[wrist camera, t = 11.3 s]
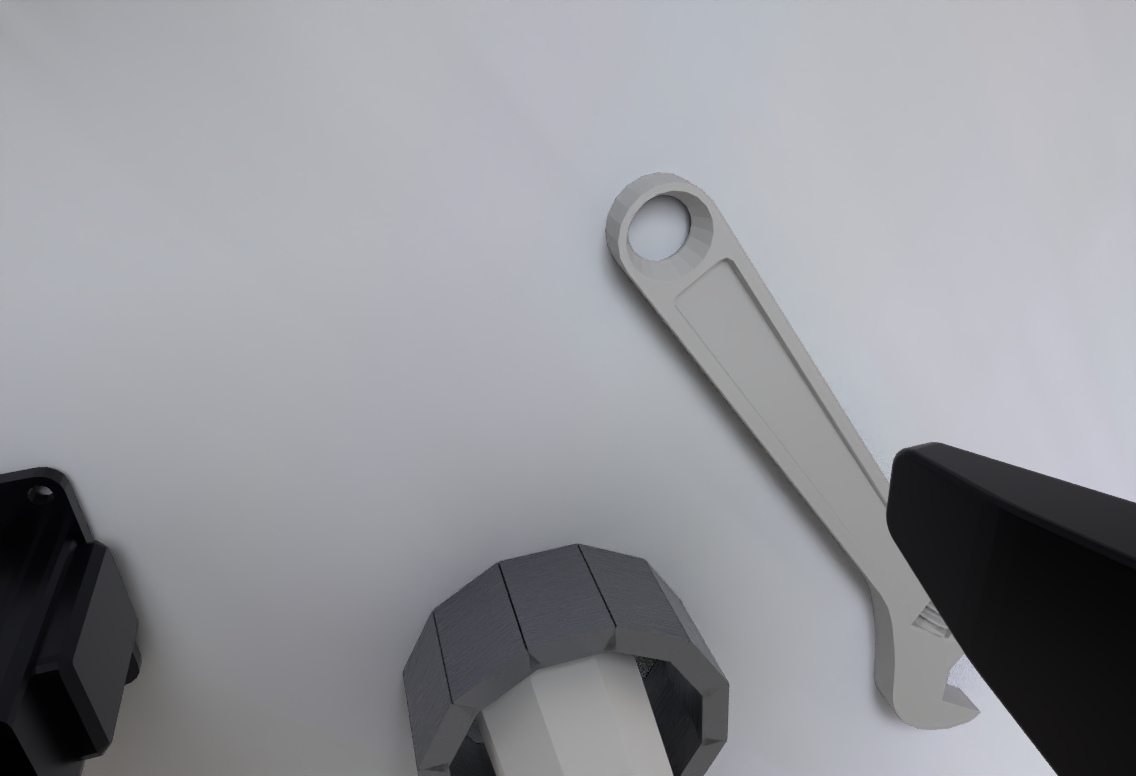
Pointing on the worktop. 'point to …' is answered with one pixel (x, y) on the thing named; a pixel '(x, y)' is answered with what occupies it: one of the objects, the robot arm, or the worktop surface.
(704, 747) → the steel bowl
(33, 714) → the robot arm
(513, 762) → the salt shaker
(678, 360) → the worktop surface
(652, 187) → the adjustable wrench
